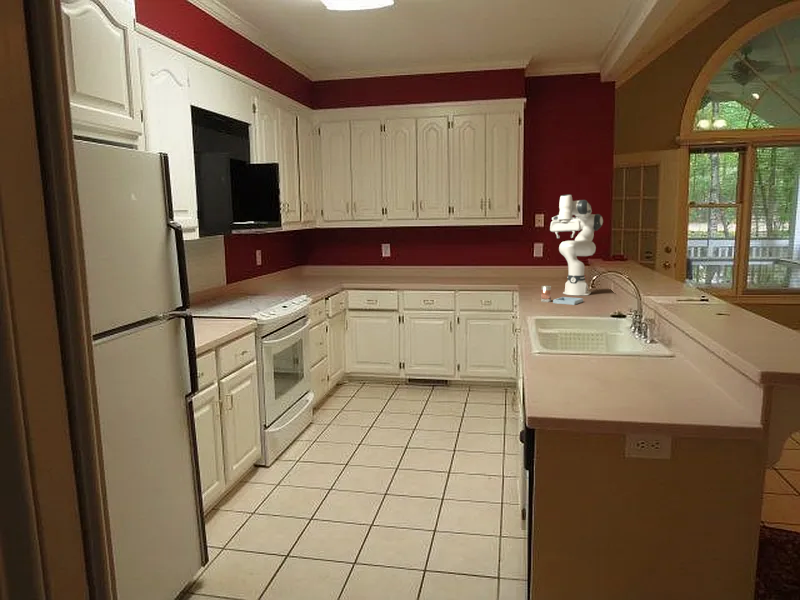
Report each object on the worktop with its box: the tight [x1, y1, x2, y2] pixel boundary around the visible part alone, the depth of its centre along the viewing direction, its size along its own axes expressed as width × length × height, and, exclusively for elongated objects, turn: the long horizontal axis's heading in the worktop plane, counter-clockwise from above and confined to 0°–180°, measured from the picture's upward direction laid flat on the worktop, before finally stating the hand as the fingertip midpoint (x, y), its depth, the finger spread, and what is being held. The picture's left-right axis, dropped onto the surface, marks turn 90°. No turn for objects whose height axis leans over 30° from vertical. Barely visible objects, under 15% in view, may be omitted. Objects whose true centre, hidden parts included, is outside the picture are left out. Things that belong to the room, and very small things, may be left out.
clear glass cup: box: [540, 285, 552, 303], centre depth 381 cm, size 6×6×11 cm
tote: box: [552, 296, 584, 306], centre depth 375 cm, size 16×14×3 cm
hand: (565, 237), depth 395 cm, fingers open, 8 cm apart
